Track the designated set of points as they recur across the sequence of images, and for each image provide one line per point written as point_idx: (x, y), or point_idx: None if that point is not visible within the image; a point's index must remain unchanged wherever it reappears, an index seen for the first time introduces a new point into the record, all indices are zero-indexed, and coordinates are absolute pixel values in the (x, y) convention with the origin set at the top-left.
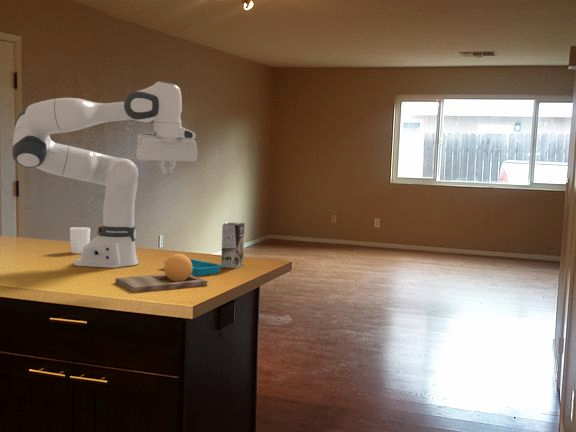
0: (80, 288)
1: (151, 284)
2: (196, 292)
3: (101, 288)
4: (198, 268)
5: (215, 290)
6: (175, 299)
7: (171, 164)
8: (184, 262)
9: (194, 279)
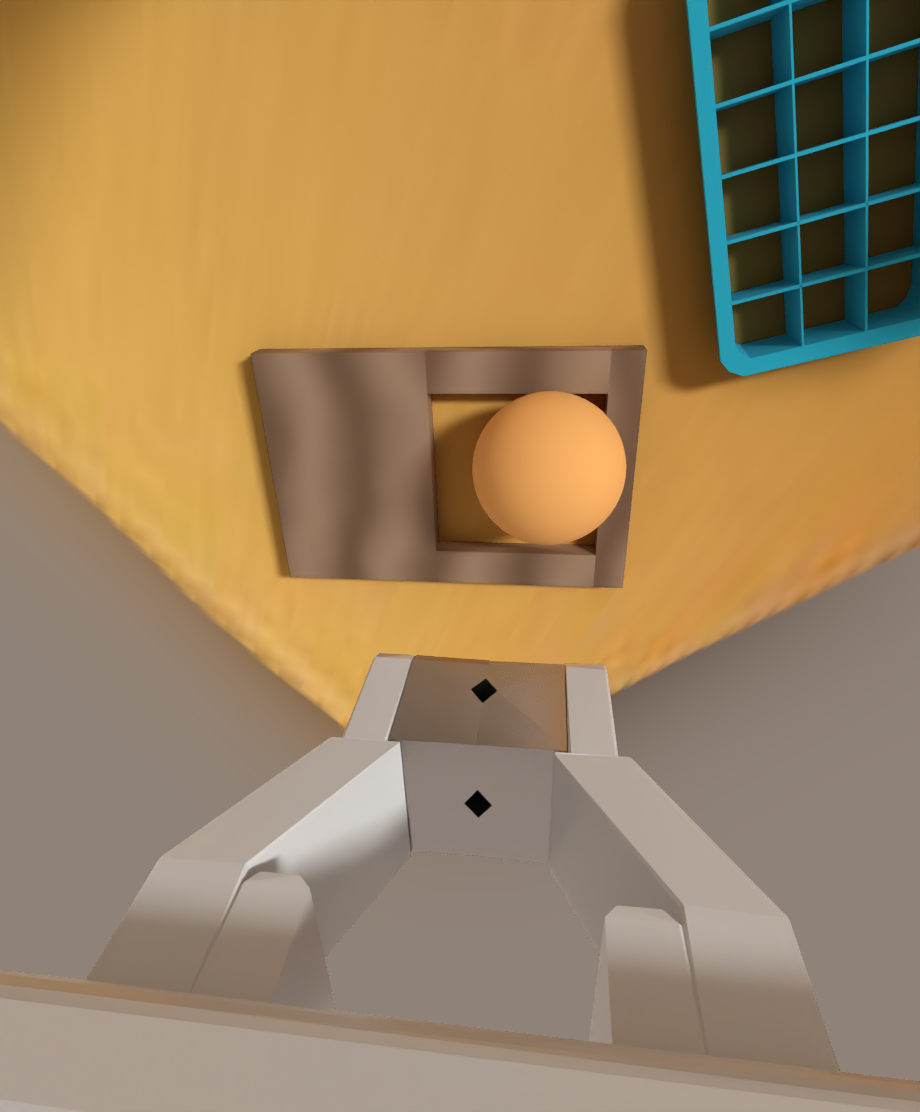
0: (104, 404)
1: (370, 554)
2: (515, 656)
3: (188, 441)
4: (733, 362)
5: (599, 659)
6: None
7: (671, 941)
8: (551, 544)
9: None
